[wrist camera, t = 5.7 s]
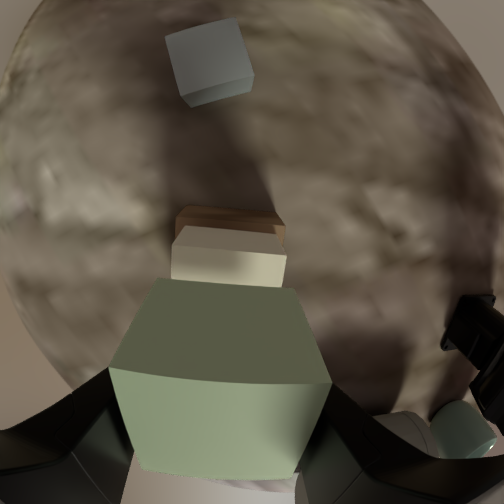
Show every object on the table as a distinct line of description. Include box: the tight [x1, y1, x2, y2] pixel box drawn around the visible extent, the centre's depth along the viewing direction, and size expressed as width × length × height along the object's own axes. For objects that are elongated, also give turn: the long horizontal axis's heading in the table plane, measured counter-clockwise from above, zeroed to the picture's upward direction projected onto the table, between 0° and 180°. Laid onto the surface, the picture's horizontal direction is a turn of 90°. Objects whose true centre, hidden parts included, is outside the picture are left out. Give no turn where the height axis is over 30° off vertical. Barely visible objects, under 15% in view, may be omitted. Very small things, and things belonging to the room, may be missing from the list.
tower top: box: [171, 226, 287, 287], centre depth 15 cm, size 5×5×4 cm
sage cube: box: [108, 278, 332, 480], centre depth 8 cm, size 4×4×4 cm
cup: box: [430, 400, 497, 459], centre depth 25 cm, size 8×8×10 cm
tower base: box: [175, 205, 285, 247], centre depth 18 cm, size 6×6×4 cm
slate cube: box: [164, 17, 255, 108], centre depth 14 cm, size 4×4×4 cm
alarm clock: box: [295, 411, 439, 504], centre depth 23 cm, size 21×10×13 cm, turn 173°
